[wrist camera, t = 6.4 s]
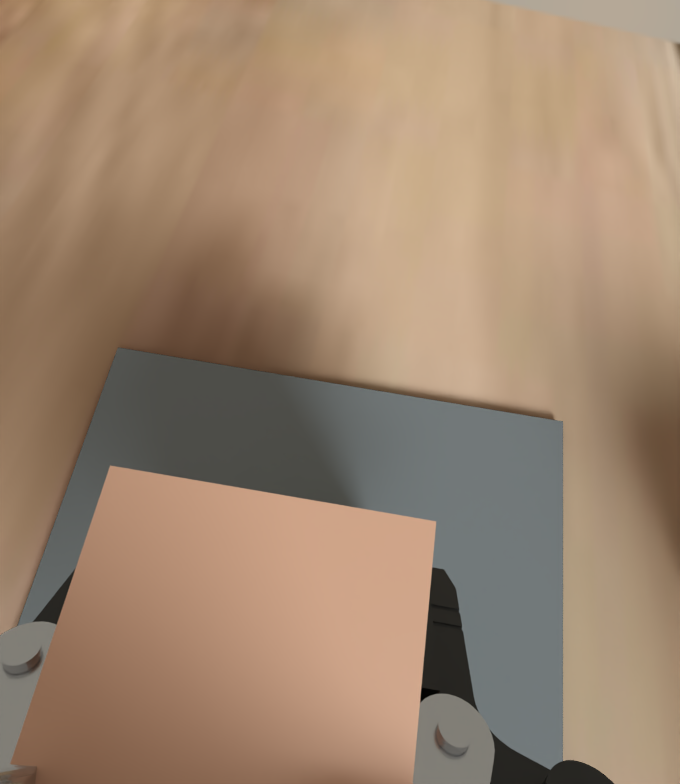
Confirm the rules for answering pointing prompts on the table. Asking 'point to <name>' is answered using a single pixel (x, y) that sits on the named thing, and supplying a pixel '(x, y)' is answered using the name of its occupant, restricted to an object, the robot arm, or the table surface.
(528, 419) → the charcoal mat
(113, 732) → the sage block
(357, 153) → the table surface
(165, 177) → the table surface
